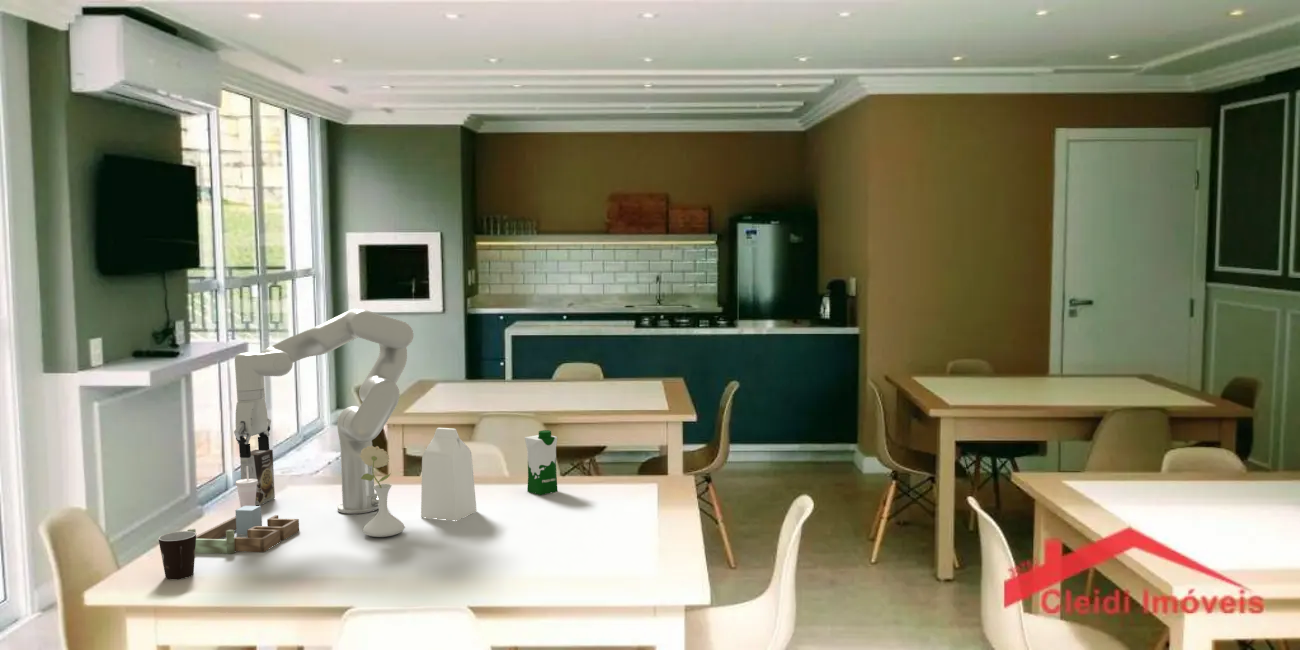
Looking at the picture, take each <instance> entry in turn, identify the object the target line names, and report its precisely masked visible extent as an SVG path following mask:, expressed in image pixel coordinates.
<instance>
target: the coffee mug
mask: <svg viewBox="0 0 1300 650" xmlns="http://www.w3.org/2000/svg"><path fill="white" fill-rule="evenodd" d="M196 536H197V533H195V532H192V531H187V530H183V531H182V530H181V531H172V532H169V533H165V534H162V535H159V537H158V538H157V539H158V545H159V548H160V549H159V551H160V554H161V559H162V565H163V571H164V576H165V579H166V578H167V579H166V580H170V579H177V580H182V579H181V578H184V579H186V578H185V577H188V578H189V576H190V577H192V576H193V575H194V574H195V572H194V571H195V561H196V559H195V557H196V552H195V546H196ZM191 575H192V576H191Z"/></svg>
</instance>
